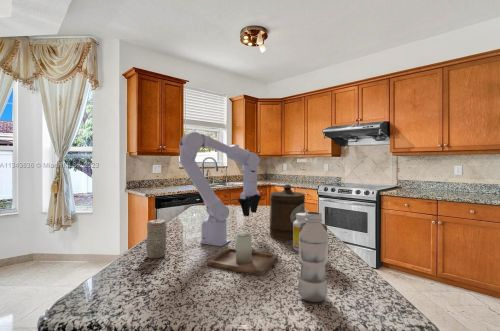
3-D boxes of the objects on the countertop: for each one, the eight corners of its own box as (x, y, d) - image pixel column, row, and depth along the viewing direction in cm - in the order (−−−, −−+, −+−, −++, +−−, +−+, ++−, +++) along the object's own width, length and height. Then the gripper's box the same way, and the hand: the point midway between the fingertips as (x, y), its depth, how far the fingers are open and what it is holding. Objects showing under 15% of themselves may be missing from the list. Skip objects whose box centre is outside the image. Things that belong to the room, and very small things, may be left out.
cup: (233, 262, 82) (232, 236, 82) (239, 256, 86) (239, 232, 86) (247, 264, 80) (247, 238, 80) (254, 258, 84) (253, 233, 84)
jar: (333, 265, 81) (333, 226, 81) (312, 270, 77) (312, 229, 77) (314, 256, 89) (314, 220, 89) (294, 260, 85) (294, 223, 85)
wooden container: (301, 242, 104) (302, 186, 104) (265, 238, 109) (265, 185, 109) (306, 232, 118) (307, 183, 117) (274, 229, 123) (274, 182, 123)
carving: (145, 261, 84) (145, 223, 84) (147, 253, 91) (147, 218, 91) (166, 259, 86) (166, 222, 86) (166, 251, 93) (166, 217, 93)
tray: (207, 265, 80) (207, 260, 80) (229, 251, 93) (229, 247, 93) (262, 276, 73) (262, 271, 73) (277, 259, 86) (277, 254, 86)
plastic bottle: (294, 292, 64) (295, 210, 64) (321, 291, 65) (322, 210, 65) (302, 307, 58) (303, 216, 58) (332, 305, 59) (333, 215, 58)
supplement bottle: (311, 253, 92) (312, 216, 91) (292, 251, 93) (292, 215, 93) (311, 247, 98) (311, 212, 98) (293, 245, 100) (293, 212, 99)
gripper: (252, 183, 101) (251, 218, 101) (265, 180, 114) (265, 211, 114) (235, 182, 104) (235, 216, 104) (250, 180, 117) (250, 210, 117)
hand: (250, 214), depth 109 cm, fingers open, 7 cm apart
